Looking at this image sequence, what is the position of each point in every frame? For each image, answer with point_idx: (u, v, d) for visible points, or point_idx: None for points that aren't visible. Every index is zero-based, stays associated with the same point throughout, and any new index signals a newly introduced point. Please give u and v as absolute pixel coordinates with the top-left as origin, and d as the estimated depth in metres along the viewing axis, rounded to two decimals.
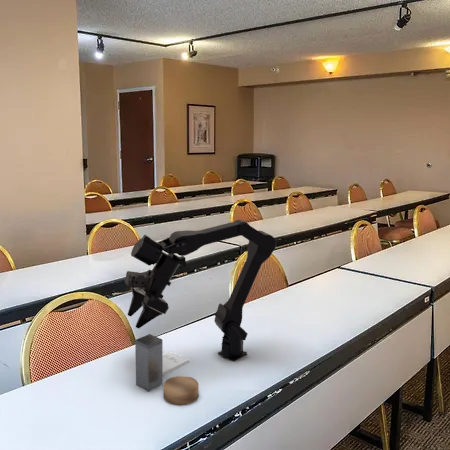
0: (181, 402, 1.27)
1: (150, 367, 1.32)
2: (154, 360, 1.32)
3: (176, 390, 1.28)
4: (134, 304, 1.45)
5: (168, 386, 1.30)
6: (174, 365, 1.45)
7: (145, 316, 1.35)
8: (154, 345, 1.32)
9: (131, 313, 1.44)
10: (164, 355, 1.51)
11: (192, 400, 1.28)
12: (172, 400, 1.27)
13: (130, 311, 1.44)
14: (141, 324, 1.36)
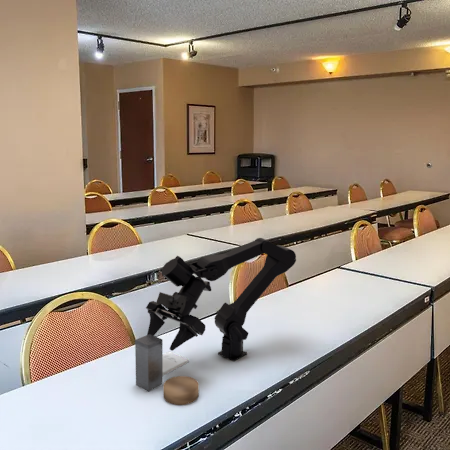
0: (181, 402, 1.27)
1: (150, 367, 1.32)
2: (154, 360, 1.32)
3: (176, 390, 1.28)
4: (153, 328, 1.41)
5: (168, 386, 1.30)
6: (174, 365, 1.45)
7: (181, 338, 1.34)
8: (154, 345, 1.32)
9: None
10: (163, 355, 1.51)
11: (192, 400, 1.28)
12: (172, 400, 1.27)
13: None
14: (175, 346, 1.34)
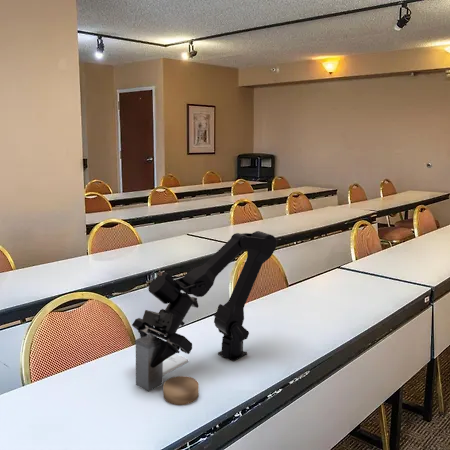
0: (181, 402, 1.27)
1: (150, 367, 1.32)
2: None
3: (176, 390, 1.28)
4: None
5: (168, 386, 1.30)
6: (173, 365, 1.45)
7: (162, 355, 1.32)
8: (154, 345, 1.31)
9: None
10: None
11: (192, 400, 1.28)
12: (172, 400, 1.27)
13: None
14: (157, 363, 1.32)
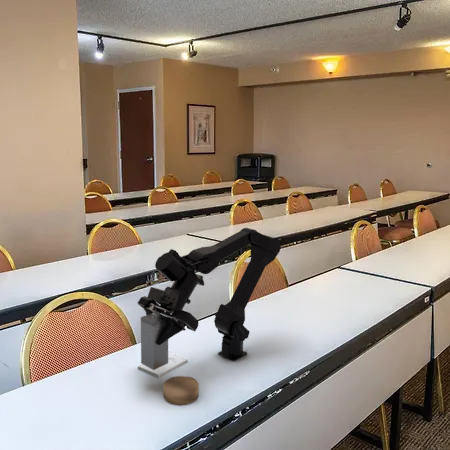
0: (181, 402, 1.27)
1: (155, 345, 1.30)
2: None
3: (176, 390, 1.28)
4: None
5: (168, 386, 1.30)
6: (173, 365, 1.45)
7: (168, 332, 1.30)
8: (160, 323, 1.29)
9: None
10: None
11: (192, 400, 1.28)
12: (172, 400, 1.27)
13: None
14: (162, 341, 1.30)
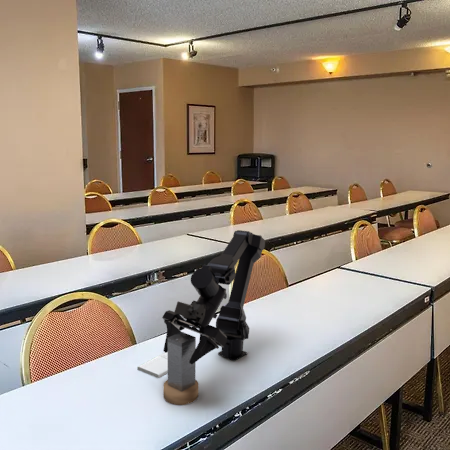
0: (181, 402, 1.27)
1: (184, 366, 1.26)
2: (187, 358, 1.27)
3: (176, 390, 1.28)
4: None
5: (168, 386, 1.30)
6: None
7: (201, 350, 1.26)
8: (187, 343, 1.26)
9: (167, 349, 1.31)
10: (161, 355, 1.51)
11: (192, 400, 1.28)
12: (172, 400, 1.27)
13: (167, 347, 1.31)
14: (195, 359, 1.25)
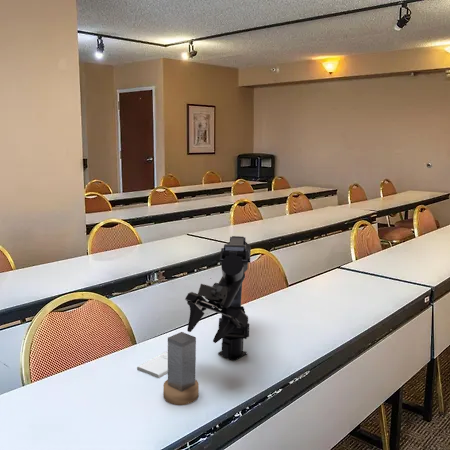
0: (181, 402, 1.27)
1: (184, 366, 1.26)
2: (188, 359, 1.27)
3: (176, 390, 1.28)
4: (193, 319, 1.38)
5: (168, 386, 1.30)
6: None
7: (224, 330, 1.32)
8: (188, 343, 1.26)
9: (191, 329, 1.38)
10: (161, 355, 1.51)
11: (192, 400, 1.28)
12: (172, 400, 1.27)
13: (190, 326, 1.37)
14: (219, 338, 1.32)
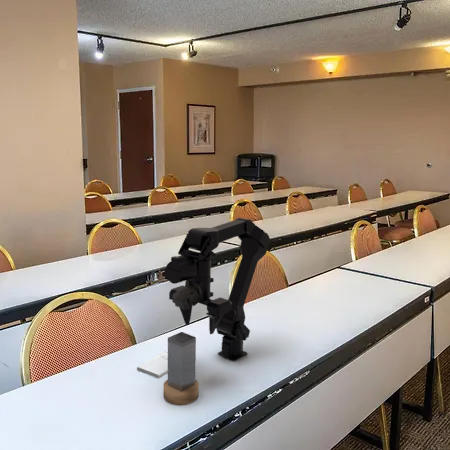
0: (181, 402, 1.27)
1: (184, 366, 1.26)
2: (188, 359, 1.27)
3: (176, 390, 1.28)
4: (186, 313, 1.43)
5: (168, 386, 1.30)
6: None
7: (214, 321, 1.36)
8: (188, 343, 1.26)
9: (188, 321, 1.43)
10: (160, 355, 1.50)
11: (192, 400, 1.28)
12: (172, 400, 1.27)
13: (186, 320, 1.43)
14: (214, 329, 1.37)
